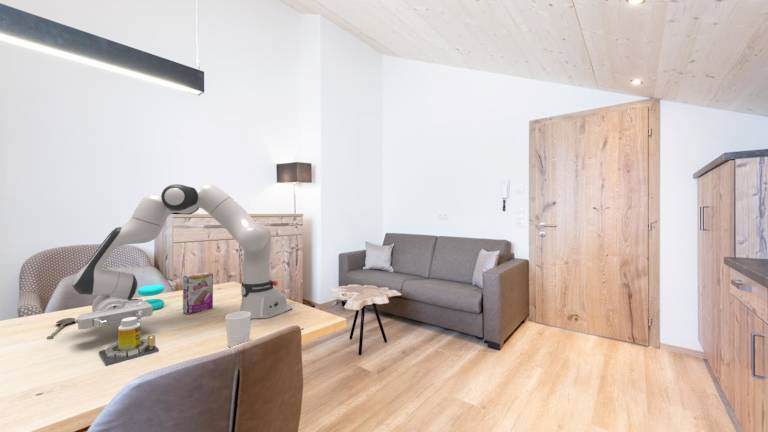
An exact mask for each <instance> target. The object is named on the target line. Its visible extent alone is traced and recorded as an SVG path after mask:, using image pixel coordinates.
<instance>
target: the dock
mask: <svg viewBox="0 0 768 432" xmlns="http://www.w3.org/2000/svg"><path fill="white" fill-rule="evenodd" d="M159 350H160V349H159V347H158V346H156V335H152V334H151V335H149V336H147V338H141V337H140V347H137V348H134V349H131V350H126V351H118V342H117V343H113V344H111V345H109V346H108V347H107V348H105V349H102V350H99V351H98V355H99V357H100V358H101V360H102V361H103V364H104V365H105V366H110V365H113V364H117V363H121V362H124V361H128V360H131V359H136V358H139V357H143V356H145V355H147V356H148V355H149V354H153V353H158V352H159Z"/></svg>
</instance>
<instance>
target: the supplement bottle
mask: <svg viewBox="0 0 768 432" xmlns="http://www.w3.org/2000/svg"><path fill="white" fill-rule="evenodd" d="M117 336H118V337H117V341H118V342H117V343H118V351H126V350H131V349H134V348H137V347H140V339H141V323H139V322H138V320H137V317H128V318H124V319H122V320H121V322H120V325H119V326H118V328H117Z"/></svg>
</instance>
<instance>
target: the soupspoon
mask: <svg viewBox="0 0 768 432" xmlns="http://www.w3.org/2000/svg"><path fill="white" fill-rule="evenodd" d="M74 320H75V317H66V318H62V319H59V320H58V321H56V322H55V324H58V325H59V326H58V327H57V329H55V330H54V331H53V332H52V333H51V334H50V335H48V336H47V337H46V340H51V339H54V337H55V335H56V333H57V332H58V331H60V330H61V328H63V327H64V326H65V325H67V324H70V323H73V322H75V321H74Z"/></svg>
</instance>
